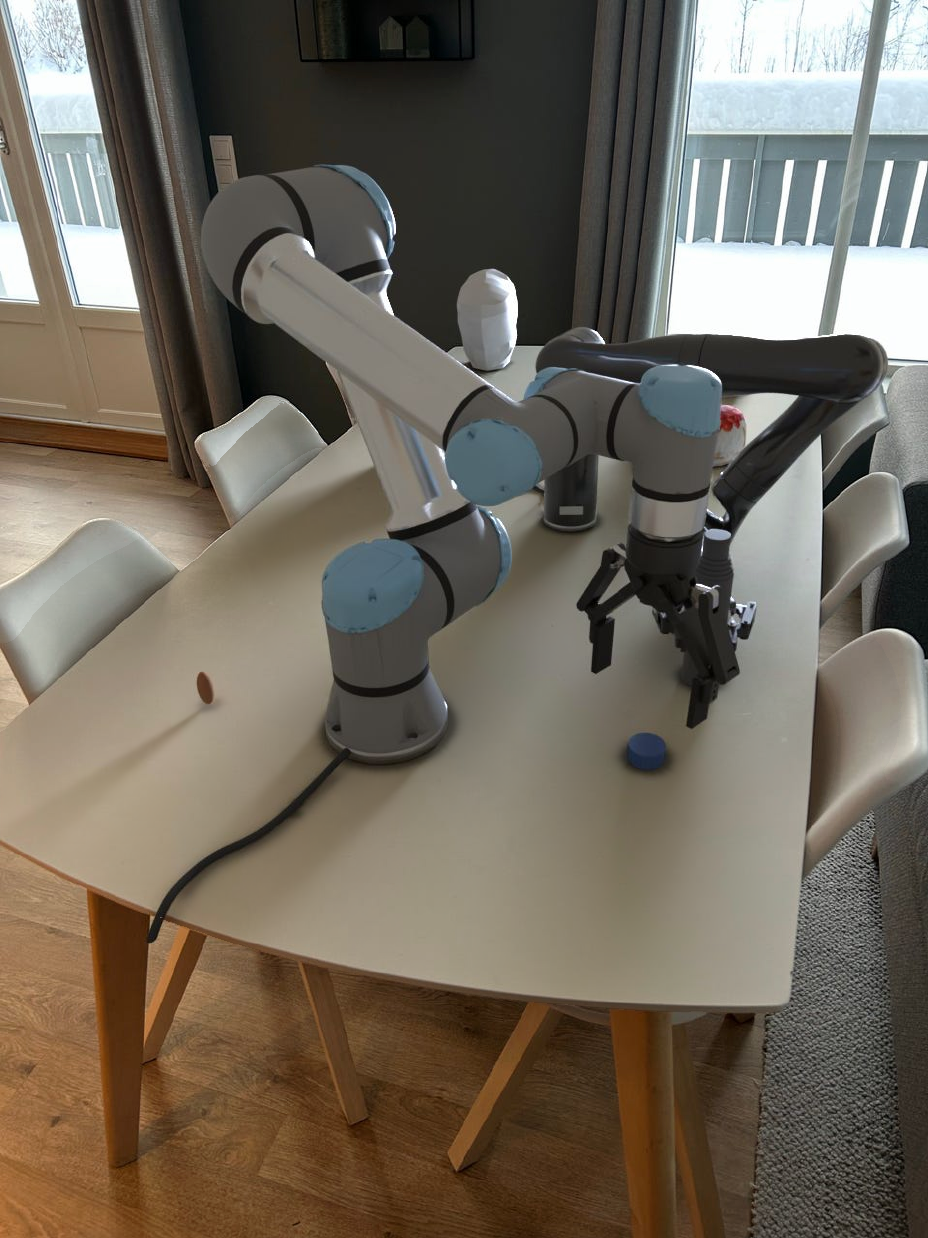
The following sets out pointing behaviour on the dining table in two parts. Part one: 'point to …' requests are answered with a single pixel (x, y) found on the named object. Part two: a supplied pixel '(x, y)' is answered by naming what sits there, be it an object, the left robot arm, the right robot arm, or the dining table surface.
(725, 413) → the cake
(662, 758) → the cap
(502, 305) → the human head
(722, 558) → the bottle
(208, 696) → the brown disc
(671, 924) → the dining table surface
